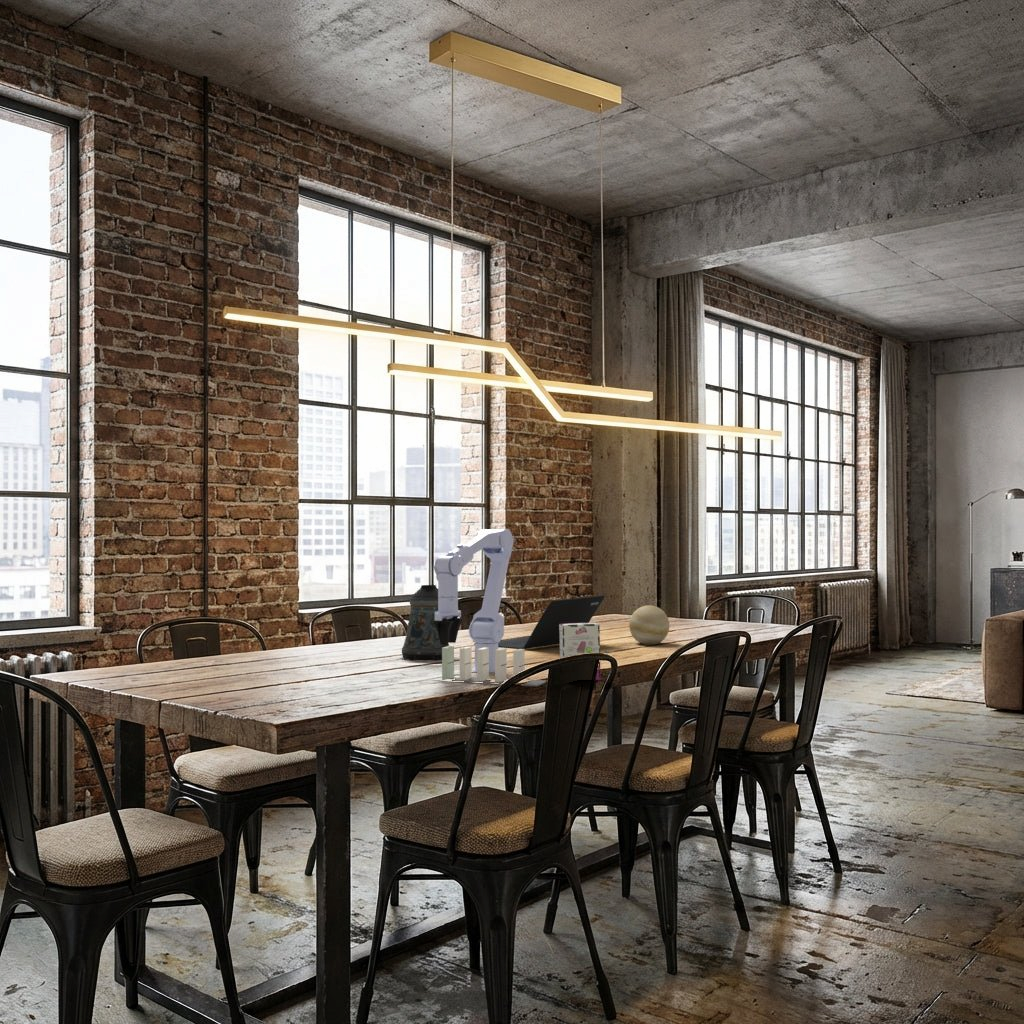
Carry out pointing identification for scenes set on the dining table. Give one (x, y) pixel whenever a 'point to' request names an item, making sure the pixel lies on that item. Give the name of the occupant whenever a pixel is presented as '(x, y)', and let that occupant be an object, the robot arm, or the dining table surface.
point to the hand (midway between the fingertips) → (448, 643)
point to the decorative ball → (649, 625)
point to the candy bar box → (580, 640)
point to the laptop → (556, 622)
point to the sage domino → (447, 662)
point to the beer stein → (423, 626)
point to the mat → (531, 683)
